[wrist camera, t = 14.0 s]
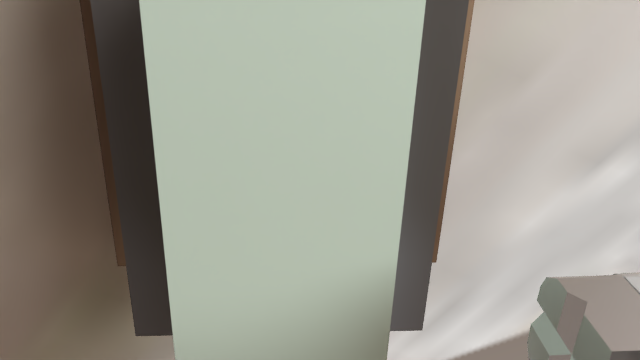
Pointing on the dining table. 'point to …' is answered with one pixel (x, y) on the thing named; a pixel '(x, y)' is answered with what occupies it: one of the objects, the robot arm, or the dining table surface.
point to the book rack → (140, 168)
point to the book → (281, 170)
